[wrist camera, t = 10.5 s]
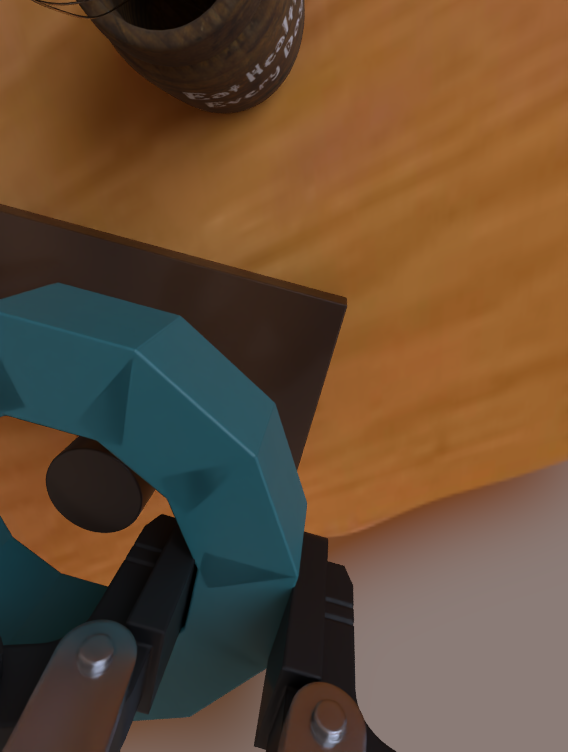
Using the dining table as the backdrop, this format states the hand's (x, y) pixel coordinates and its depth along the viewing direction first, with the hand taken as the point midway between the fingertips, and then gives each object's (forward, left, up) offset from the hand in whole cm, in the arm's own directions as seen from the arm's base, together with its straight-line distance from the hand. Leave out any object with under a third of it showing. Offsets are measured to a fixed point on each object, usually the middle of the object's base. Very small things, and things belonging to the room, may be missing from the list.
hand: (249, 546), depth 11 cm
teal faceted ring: (-4, 0, 0) cm, 4 cm away
